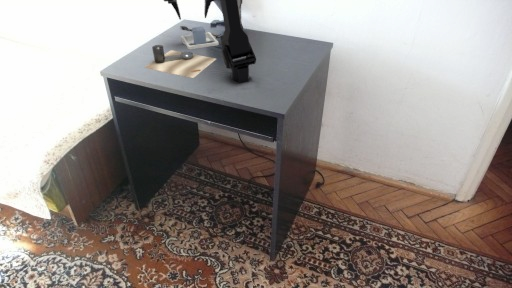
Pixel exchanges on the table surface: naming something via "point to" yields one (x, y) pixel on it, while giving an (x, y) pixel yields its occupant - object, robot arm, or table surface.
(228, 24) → the robot arm
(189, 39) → the tray
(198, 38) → the block
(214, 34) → the tactical tomahawk
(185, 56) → the crank
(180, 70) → the crank plate
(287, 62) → the table surface
